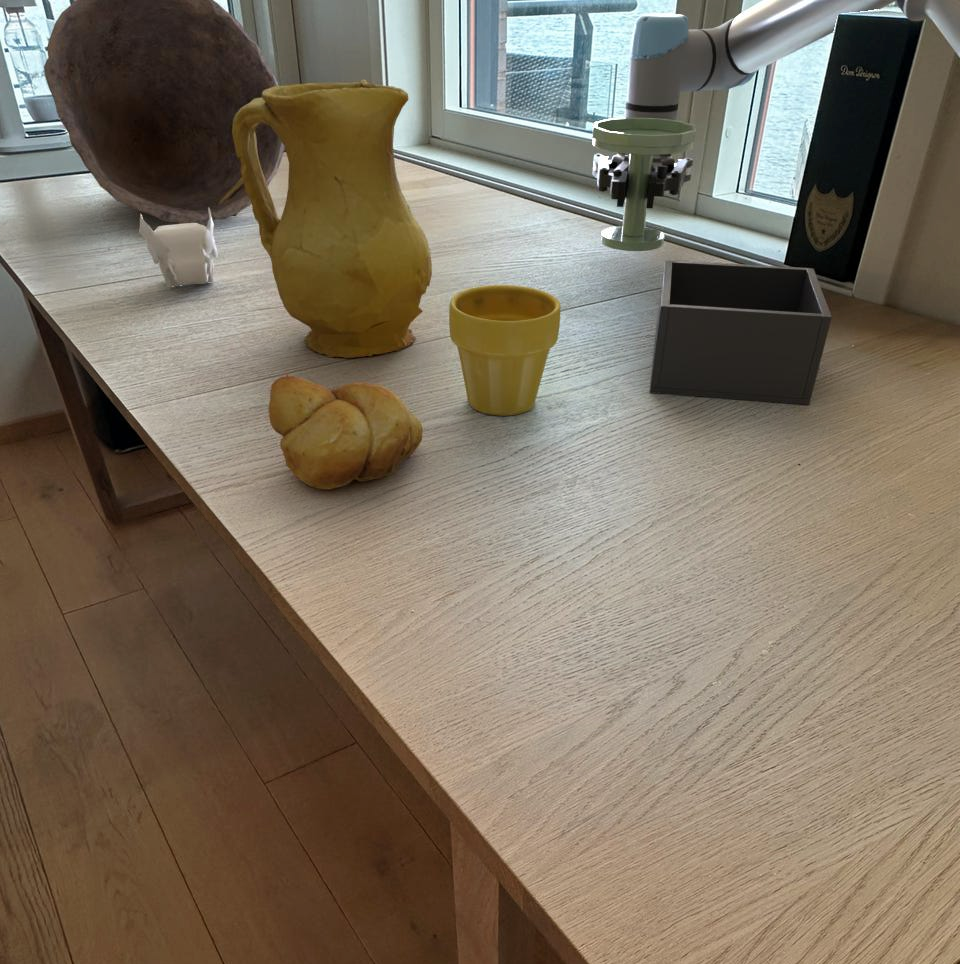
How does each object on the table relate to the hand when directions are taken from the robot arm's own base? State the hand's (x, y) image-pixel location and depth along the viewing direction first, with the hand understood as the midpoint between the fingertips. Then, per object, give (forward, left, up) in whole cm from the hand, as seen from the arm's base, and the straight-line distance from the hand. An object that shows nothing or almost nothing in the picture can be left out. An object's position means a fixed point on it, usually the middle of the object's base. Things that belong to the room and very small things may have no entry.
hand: (636, 195), depth 102 cm
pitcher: (+30, +20, -12) cm, 38 cm away
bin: (-12, +22, -12) cm, 27 cm away
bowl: (+74, -33, -12) cm, 82 cm away
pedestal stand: (0, -5, -7) cm, 8 cm away
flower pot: (+10, +35, -12) cm, 38 cm away
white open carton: (+57, +6, -12) cm, 59 cm away
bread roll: (+20, +51, -12) cm, 56 cm away
